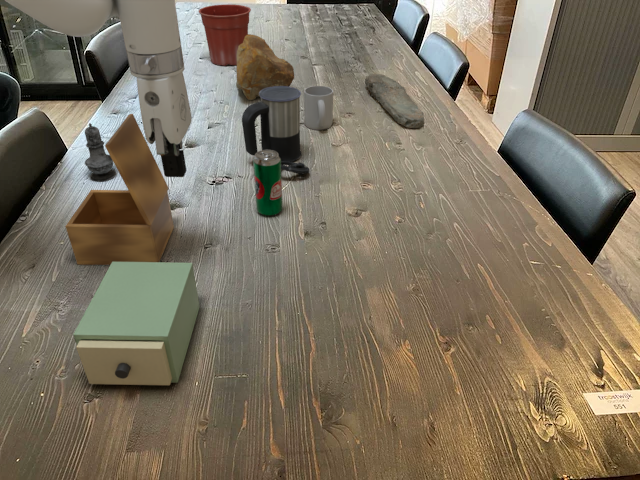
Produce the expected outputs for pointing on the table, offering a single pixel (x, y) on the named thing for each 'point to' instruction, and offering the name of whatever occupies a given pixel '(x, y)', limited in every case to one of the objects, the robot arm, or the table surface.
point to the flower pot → (225, 31)
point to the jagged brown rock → (260, 67)
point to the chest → (117, 230)
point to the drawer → (125, 362)
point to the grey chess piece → (98, 156)
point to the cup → (318, 107)
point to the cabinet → (145, 307)
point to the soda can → (268, 182)
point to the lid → (137, 168)
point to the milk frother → (276, 126)
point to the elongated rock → (395, 100)
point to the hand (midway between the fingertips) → (175, 174)
